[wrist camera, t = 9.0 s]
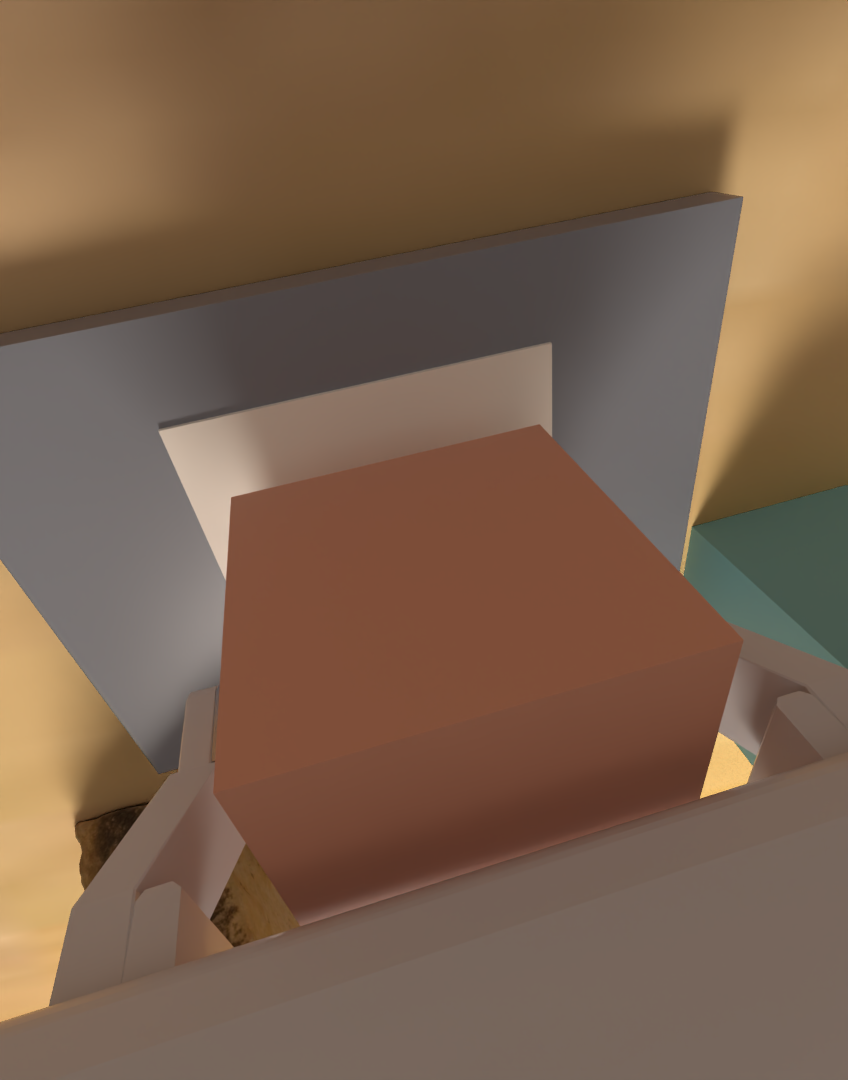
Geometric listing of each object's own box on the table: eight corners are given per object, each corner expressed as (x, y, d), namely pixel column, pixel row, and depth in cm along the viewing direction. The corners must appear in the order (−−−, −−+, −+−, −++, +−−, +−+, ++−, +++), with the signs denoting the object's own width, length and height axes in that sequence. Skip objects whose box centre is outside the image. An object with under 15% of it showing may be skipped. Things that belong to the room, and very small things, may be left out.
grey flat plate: (711, 191, 12) (746, 197, 11) (652, 607, 19) (671, 630, 19) (-108, 355, 10) (-140, 376, 10) (162, 744, 18) (158, 777, 17)
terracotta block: (539, 424, 11) (744, 639, 7) (543, 637, 15) (677, 876, 10) (231, 497, 11) (213, 793, 6) (312, 701, 14) (340, 988, 10)
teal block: (865, 477, 18) (1078, 602, 14) (814, 614, 22) (969, 748, 17) (690, 525, 18) (850, 672, 13) (668, 657, 21) (786, 809, 17)
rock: (420, 939, 25) (432, 853, 18) (311, 1226, 19) (267, 1258, 12) (210, 827, 28) (151, 716, 21) (60, 1045, 22) (-90, 990, 15)
